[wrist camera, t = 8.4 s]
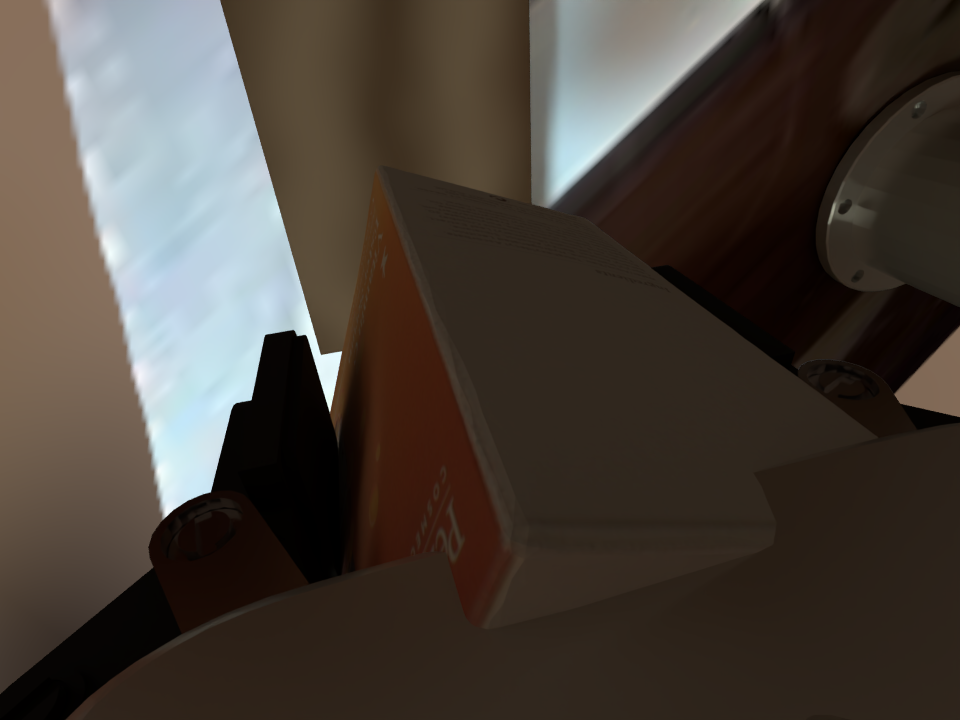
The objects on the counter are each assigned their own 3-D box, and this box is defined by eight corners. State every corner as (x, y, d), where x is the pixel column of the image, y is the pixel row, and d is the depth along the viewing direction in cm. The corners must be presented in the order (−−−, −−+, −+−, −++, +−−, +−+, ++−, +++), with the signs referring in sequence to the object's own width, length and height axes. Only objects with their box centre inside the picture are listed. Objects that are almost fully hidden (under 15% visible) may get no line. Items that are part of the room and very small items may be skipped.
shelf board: (511, -102, 19) (542, -125, 17) (521, 300, 29) (542, 330, 26) (204, -89, 18) (180, -112, 15) (321, 335, 27) (320, 371, 24)
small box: (375, 157, 12) (515, 524, 3) (587, 214, 14) (1040, 532, 5) (321, 434, 15) (313, 963, 7) (494, 447, 17) (663, 865, 9)
